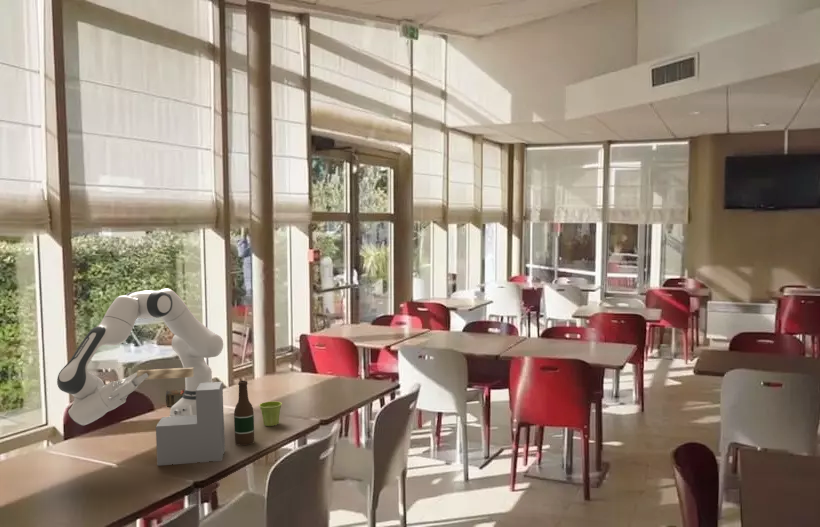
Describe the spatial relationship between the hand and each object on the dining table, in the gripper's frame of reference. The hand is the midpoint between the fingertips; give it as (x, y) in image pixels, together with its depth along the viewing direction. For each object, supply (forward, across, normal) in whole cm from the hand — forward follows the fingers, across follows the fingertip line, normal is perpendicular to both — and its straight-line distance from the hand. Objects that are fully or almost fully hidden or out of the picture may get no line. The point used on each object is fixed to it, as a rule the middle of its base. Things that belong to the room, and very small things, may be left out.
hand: (149, 373), depth 248 cm
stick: (+4, 0, +4) cm, 6 cm away
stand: (-4, 0, +34) cm, 35 cm away
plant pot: (+19, +36, +48) cm, 63 cm away
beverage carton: (-16, +83, +28) cm, 89 cm away
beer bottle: (+11, +14, +44) cm, 47 cm away
